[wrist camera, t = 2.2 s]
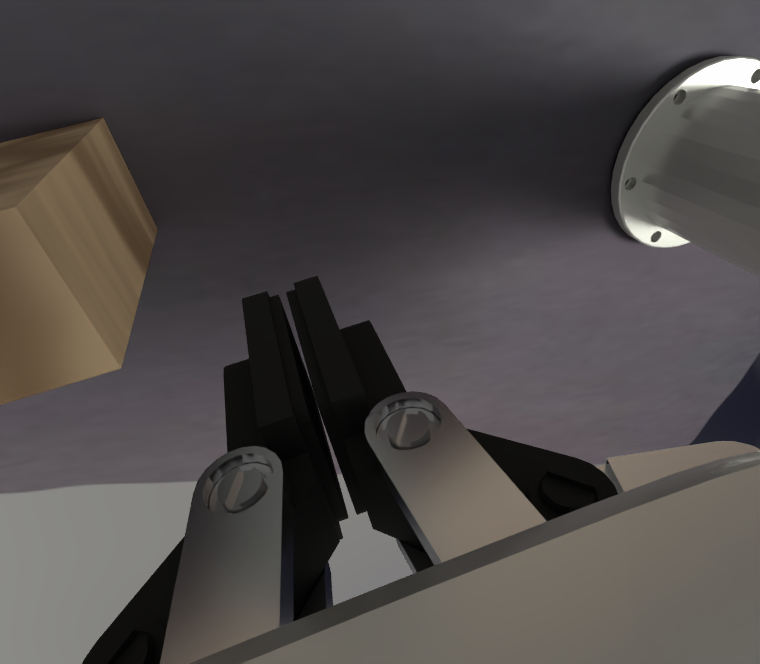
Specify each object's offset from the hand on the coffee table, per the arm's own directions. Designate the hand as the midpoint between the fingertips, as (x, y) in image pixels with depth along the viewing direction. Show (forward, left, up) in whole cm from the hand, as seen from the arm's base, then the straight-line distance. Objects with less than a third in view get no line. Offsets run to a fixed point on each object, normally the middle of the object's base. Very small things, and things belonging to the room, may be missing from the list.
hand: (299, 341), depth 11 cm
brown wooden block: (+9, 0, -19) cm, 21 cm away
